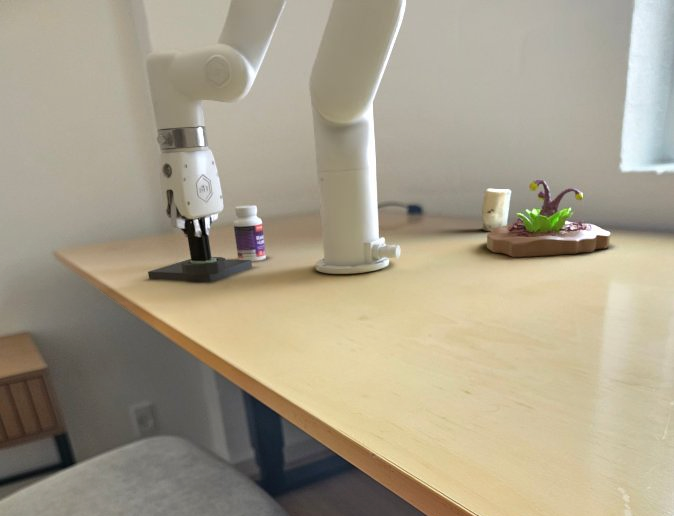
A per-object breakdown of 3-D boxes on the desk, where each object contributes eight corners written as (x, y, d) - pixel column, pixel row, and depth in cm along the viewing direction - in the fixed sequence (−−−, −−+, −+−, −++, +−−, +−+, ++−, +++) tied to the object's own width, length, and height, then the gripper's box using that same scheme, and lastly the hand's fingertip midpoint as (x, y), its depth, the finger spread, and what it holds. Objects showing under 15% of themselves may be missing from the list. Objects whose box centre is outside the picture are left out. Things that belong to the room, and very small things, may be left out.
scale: (255, 267, 119) (253, 250, 117) (209, 284, 109) (206, 265, 107) (193, 265, 126) (190, 249, 124) (144, 281, 115) (141, 263, 114)
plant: (473, 242, 125) (474, 179, 120) (571, 233, 127) (576, 170, 122) (508, 261, 108) (511, 188, 103) (623, 250, 109) (631, 177, 104)
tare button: (222, 266, 113) (221, 257, 112) (206, 272, 110) (205, 262, 109) (203, 266, 115) (201, 257, 114) (186, 271, 112) (185, 262, 111)
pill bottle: (264, 261, 124) (258, 207, 120) (236, 263, 125) (229, 209, 120) (267, 256, 129) (261, 203, 125) (240, 258, 129) (233, 206, 125)
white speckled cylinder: (509, 227, 139) (510, 186, 136) (510, 231, 135) (511, 189, 131) (481, 228, 140) (482, 188, 137) (481, 232, 136) (482, 191, 132)
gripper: (169, 142, 96) (189, 269, 104) (230, 137, 108) (245, 252, 116) (131, 145, 100) (154, 268, 108) (195, 140, 111) (211, 251, 119)
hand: (201, 259), depth 112 cm, fingers closed
